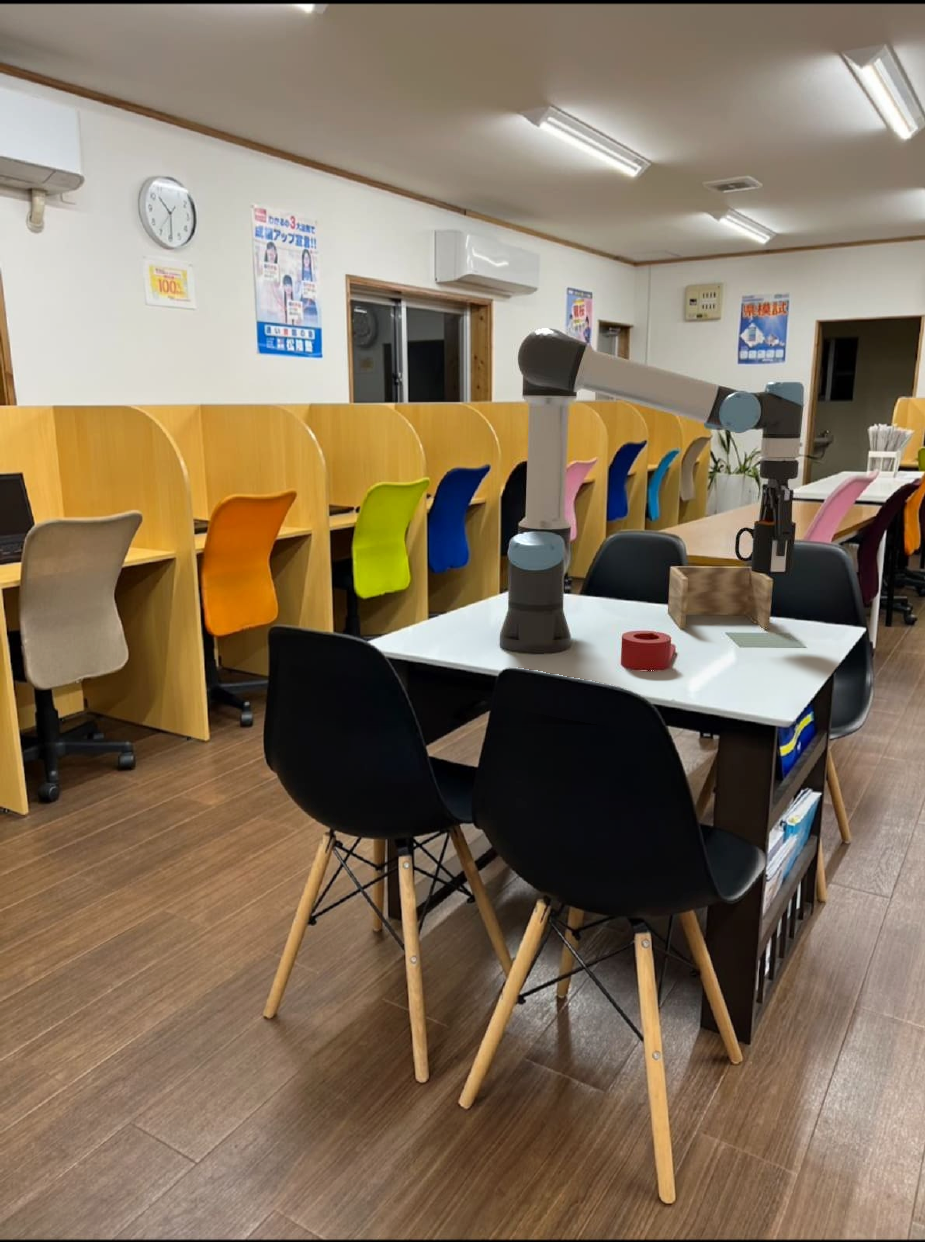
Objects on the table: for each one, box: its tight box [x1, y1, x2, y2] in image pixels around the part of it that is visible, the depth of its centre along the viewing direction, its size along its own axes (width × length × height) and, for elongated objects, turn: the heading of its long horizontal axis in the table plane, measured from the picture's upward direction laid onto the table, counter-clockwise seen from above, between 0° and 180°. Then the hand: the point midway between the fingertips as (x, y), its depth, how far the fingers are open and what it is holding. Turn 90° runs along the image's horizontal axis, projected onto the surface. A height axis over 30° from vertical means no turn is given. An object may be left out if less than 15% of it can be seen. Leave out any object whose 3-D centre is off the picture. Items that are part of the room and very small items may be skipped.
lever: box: [620, 630, 677, 672], centre depth 177 cm, size 18×9×7 cm, turn 147°
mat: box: [725, 631, 808, 649], centre depth 193 cm, size 14×12×1 cm
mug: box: [734, 520, 797, 576], centre depth 189 cm, size 8×12×10 cm
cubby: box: [667, 565, 774, 631], centre depth 209 cm, size 20×16×12 cm
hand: (771, 567), depth 189 cm, fingers closed on mug, 8 cm apart
